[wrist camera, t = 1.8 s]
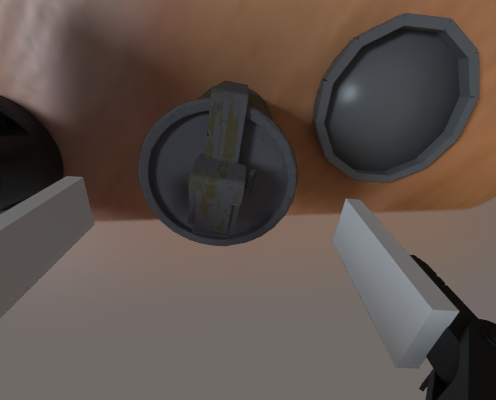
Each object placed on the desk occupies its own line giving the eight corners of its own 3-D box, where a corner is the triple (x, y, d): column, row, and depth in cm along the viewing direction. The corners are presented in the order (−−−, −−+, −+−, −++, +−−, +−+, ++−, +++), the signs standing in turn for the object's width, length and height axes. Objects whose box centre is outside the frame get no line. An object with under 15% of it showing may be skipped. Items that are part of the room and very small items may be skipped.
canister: (263, 172, 34) (282, 281, 17) (188, 160, 33) (123, 261, 16) (281, 88, 29) (336, 116, 12) (193, 71, 28) (109, 73, 11)
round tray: (301, 170, 34) (304, 175, 32) (333, 10, 26) (340, 5, 24) (425, 180, 35) (435, 186, 33) (495, 29, 27) (513, 25, 25)
